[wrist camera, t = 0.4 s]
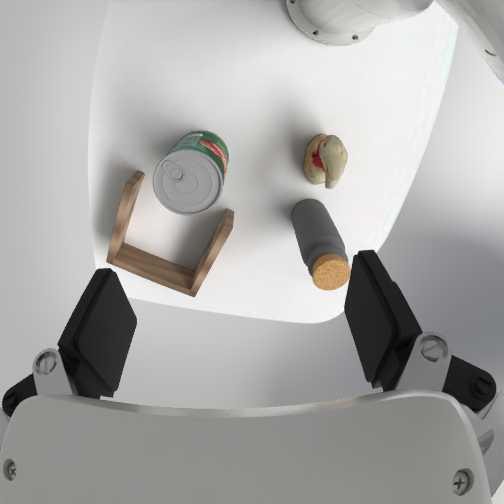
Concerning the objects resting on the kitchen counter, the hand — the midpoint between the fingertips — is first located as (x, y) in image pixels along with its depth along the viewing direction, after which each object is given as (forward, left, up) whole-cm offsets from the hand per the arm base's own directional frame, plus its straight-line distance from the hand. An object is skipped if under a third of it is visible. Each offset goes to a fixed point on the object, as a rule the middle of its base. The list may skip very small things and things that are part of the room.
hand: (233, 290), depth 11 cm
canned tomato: (+6, -3, -32) cm, 33 cm away
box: (+19, -3, -32) cm, 37 cm away
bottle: (+7, +16, -32) cm, 36 cm away
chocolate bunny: (-2, +12, -32) cm, 34 cm away
